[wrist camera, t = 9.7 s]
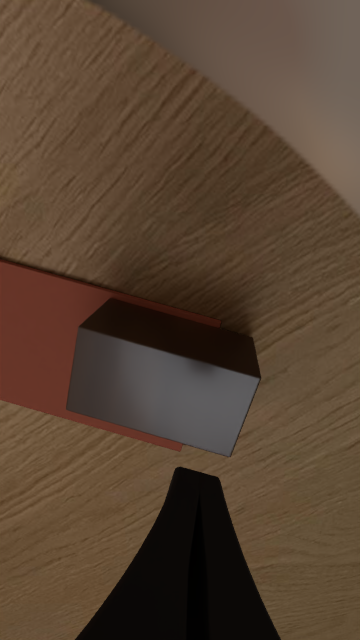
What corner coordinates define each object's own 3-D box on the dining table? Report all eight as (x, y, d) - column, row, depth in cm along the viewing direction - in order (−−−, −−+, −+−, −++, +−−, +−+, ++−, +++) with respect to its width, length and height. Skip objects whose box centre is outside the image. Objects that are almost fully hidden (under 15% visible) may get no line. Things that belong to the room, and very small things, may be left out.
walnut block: (261, 378, 14) (77, 325, 15) (230, 458, 16) (64, 410, 16) (253, 337, 18) (109, 297, 19) (229, 404, 20) (97, 366, 20)
